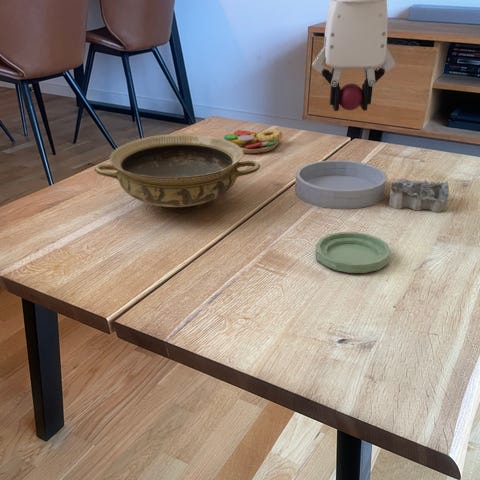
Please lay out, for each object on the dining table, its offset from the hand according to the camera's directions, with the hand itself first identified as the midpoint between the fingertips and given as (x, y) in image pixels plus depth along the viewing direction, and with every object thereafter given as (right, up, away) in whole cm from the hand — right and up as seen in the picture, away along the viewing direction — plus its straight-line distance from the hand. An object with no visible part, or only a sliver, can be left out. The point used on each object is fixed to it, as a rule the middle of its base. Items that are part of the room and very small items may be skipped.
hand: (349, 107), depth 99 cm
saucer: (-2, -28, -12) cm, 31 cm away
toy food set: (-17, +4, +36) cm, 40 cm away
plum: (0, +2, -1) cm, 2 cm away
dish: (0, -12, +11) cm, 17 cm away
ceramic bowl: (-31, -16, +7) cm, 35 cm away
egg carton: (+14, -16, +6) cm, 22 cm away
